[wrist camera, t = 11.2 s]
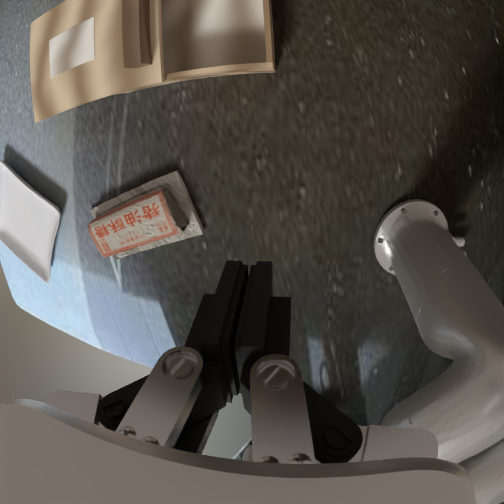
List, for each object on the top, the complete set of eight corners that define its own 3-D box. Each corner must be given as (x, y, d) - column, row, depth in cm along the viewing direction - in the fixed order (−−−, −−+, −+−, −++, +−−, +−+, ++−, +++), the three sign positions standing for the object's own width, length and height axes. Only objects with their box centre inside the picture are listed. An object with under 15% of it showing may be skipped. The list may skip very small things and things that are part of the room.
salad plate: (8, 153, 37) (-4, 159, 34) (71, 205, 42) (59, 213, 39) (1, 227, 48) (-7, 234, 45) (56, 276, 52) (48, 285, 50)
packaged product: (106, 270, 42) (76, 219, 38) (119, 255, 46) (93, 207, 42) (197, 245, 37) (166, 178, 33) (206, 229, 42) (179, 167, 37)
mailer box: (268, -34, 20) (263, -54, 15) (275, 72, 28) (272, 67, 23) (122, -4, 23) (99, -12, 18) (126, 92, 31) (101, 95, 26)
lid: (161, -38, 16) (148, -48, 13) (165, 82, 25) (151, 82, 22) (34, 23, 19) (19, 23, 16) (39, 121, 28) (23, 126, 25)
